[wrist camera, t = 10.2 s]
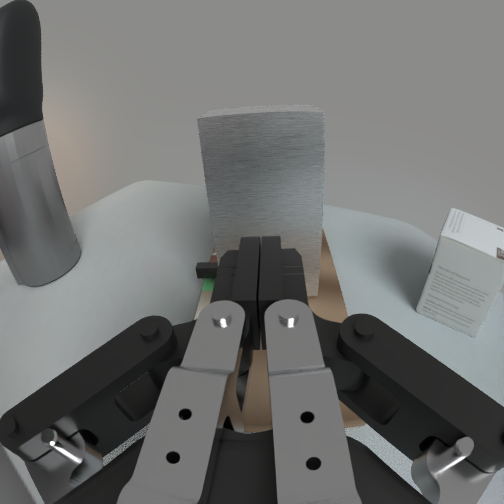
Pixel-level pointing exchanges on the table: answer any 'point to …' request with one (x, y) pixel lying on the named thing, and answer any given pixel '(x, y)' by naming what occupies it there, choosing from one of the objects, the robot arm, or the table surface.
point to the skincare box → (464, 273)
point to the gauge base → (258, 402)
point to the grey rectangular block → (265, 180)
